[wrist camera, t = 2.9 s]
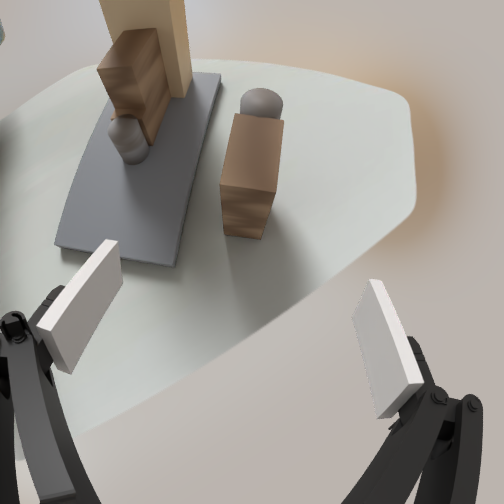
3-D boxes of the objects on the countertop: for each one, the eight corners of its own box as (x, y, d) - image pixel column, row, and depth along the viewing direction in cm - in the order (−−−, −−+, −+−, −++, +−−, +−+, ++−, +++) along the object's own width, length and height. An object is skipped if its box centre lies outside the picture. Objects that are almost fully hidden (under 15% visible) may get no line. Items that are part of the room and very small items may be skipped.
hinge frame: (59, 247, 27) (-118, 133, 3) (125, 78, 33) (80, -68, 9) (174, 267, 28) (-1, 67, 4) (221, 80, 34) (221, -95, 10)
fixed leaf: (117, 164, 29) (77, 100, 18) (144, 96, 31) (123, 30, 21) (146, 166, 29) (113, 98, 18) (171, 97, 31) (156, 27, 21)
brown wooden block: (224, 234, 29) (219, 184, 18) (238, 155, 31) (241, 85, 20) (260, 239, 29) (276, 192, 18) (270, 160, 31) (287, 92, 21)
